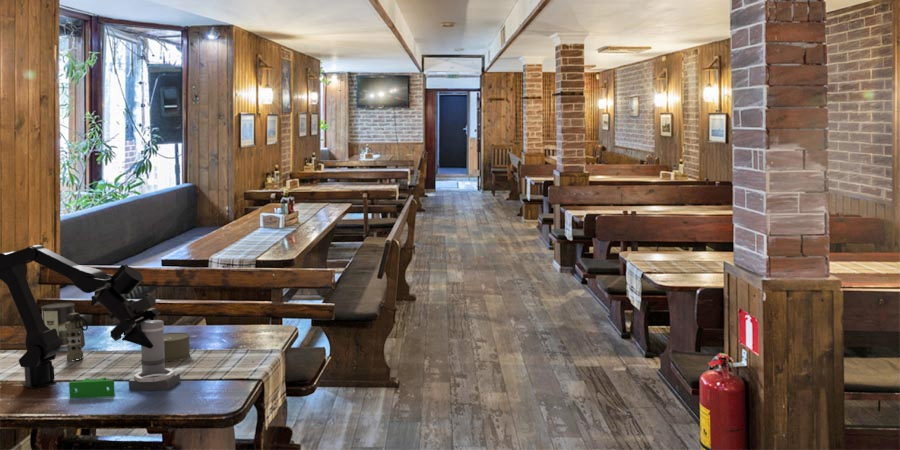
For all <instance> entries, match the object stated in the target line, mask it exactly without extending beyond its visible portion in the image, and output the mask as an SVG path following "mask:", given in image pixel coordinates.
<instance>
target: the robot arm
mask: <svg viewBox="0 0 900 450" xmlns="http://www.w3.org/2000/svg"><path fill="white" fill-rule="evenodd" d="M32 262H34V263H36V264H39V265H41V266H43V267H45V269H46V268H47V269H48V270H50V271H53V272H55V273H57V274H59V275H61V276H62V277H65V278H67V279H68V280H69V281H71V283H72V284H73V286H75V287H76V288H77V289H79V290H80V291H81V292H82V293H85V294H91V293H95V292H97V291H99V293H97V294H95V295H91V297H90V298H91V302H90V306H91V307H95V306H97V305H101V306H102V307H103V308H104V309H105V310H106V311H107V312H108V313H109V314H110V316H109V318H110V319H111V320H114V319H115V320H116V321H117V322H118V323H117V325H115V326H114V328H112V329H111V330H110V338H112V339H113V340H114V342H117V341H120V340H121V341H123V342H124V341H126V342H129V343H132V344H134V345H135V344H136V345H138V346H140V347H141V346H144V347H147V348H150V349H151V348H152V347H153V344H152V343H151V342H150V340H149V339H148V338H147V337H146V336H145V334H144V333H143V332H142V330H141V322H143V321H149V320H158V317H159V315H160V314H161V312H160V311H159V309H157V308H156V307H155V306H157V302H156V301H157V297H156V296H155V295H154V294H152V293H150V292H147V293H146V294H143V295H142V296H141V297H142V298H141V299H138V300H137V301H135V300H134V299H129V300H128V299H127V298H126V297H125V295H130V294H131V293H133V290H135V288H136V287H138V285H139V284H140V283H141V282H142V281H143V280H144V276H143V275H142V273H141V272H140V271H139V270H137V269H135V268H134V267H131V266H129V265H128V264H126V263H125V264H121V265H120V267H118V269H117V271H116V272H115V273H114V274H107V272H106V271H104V270H102V269H97V268H94V267H92V266H91V267H89V266H84V265H80V264H78V263H76V262H74V261H72V260H70V259H68V258H66V257H64V256H62V255H60V254H58V253H56V252H54V251H52V250H50V249H48V248H46V247H45V246H43V245H41V244H36V245H30V246H29V245H28V246H27V247H26V248H23V249H20V250H12V251H6V252H1V253H0V280H1V281H2V282H3V283H4V284H5V285H6V286H7V289H8V290H9V293H10V295H11V298H12V301H13V302H14V306H15V307H16V310H17V312H18V315H19V318H20V320H21V322H22V324H23V327H24V329H25V332H26V333H25V342H24V343H25V348H26V352H24V354H23V355H22V356H21V357H20V358H19V359H18V363H19V365H20V367H21V368H23V369H24V382H23V383H22V384H21V385H22V386H24V387H27V388H30V389H37V388H42V387H45V386H49V385H55V384H56V383H57V380H55V367H54V366H55V365H53V361H54V360H55V359H56V356H57V354H58V353H59V351H60V348H61V347H60V341H61V339H60V338H59V337H58V334H57V330H56V329H55V328H54V329H51V330H50V329H49V328H48V327H47V326H46V325H45V324H44V321H43V319H42V313H41V312H40V310H39V307H38V305H37V302H36V300H35V297H34V294H33V292H32V290H31V286H30V284H29V282H28V279H27V276H28V264H30V263H32ZM107 286H108V287H107ZM122 335H123V337H122Z"/></svg>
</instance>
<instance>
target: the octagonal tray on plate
mask: <svg viewBox="0 0 900 450" xmlns="http://www.w3.org/2000/svg"><path fill="white" fill-rule="evenodd" d="M180 374H181V373H180V372H176V371H175V370H173V369H171V368H166V367H165V371H163V372H161V373H156V374H144V373H142V370H141V371H139V372H137V373H135V374H134V375H133V378H131V379H129V380H128V391H129V390H131V391H132V390H135V391H137V390H138V391H143V390H145V391H147V390H149V391H151V390H152V391H156V390H158V391H160V390H161V391H168V390H170V389H171V388H172V387H174V386H176V385H177V384H178V383H180V382H181V375H180Z"/></svg>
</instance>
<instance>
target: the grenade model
mask: <svg viewBox="0 0 900 450" xmlns="http://www.w3.org/2000/svg"><path fill="white" fill-rule="evenodd" d="M68 317H70V321H69V322H66V323H65V328H66V329H67V340H68V346H67V353H66V360H68V361H69V360H76V359H80V358H82V357H83V358H84V352H83V351H82V349H84V347H85V345H86V342H85V339H86V338H85V333H84V332H85V331H87V330H88V329H89V325H90V322H89V321H88V320H86V319H85V318H84V317H83V316H81V314H80V313H79V312H75V313H71V314H69V315H68ZM83 321H84V322H83ZM83 323H84V324H85V325H83ZM68 334H69V335H68ZM83 358H82V359H83Z"/></svg>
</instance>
